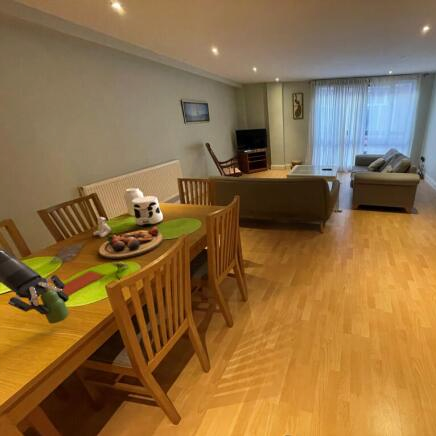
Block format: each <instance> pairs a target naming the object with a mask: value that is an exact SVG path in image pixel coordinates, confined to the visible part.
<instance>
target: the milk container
mask: <svg viewBox="0 0 436 436" xmlns="http://www.w3.org/2000/svg"><path fill="white" fill-rule="evenodd" d="M132 205H133V209H134V212H135V216H134V222H135V223H136V225H138V226H141V227H148V226H153V225H157V224H160V223H161V222H162V221H163V218H164V217H163V215H164V214H163V213H162V211H161V208H160V204H159V201H158V197H156V196H155V195H146V196H143V197H139V198H136V199H134V200H132Z"/></svg>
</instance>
